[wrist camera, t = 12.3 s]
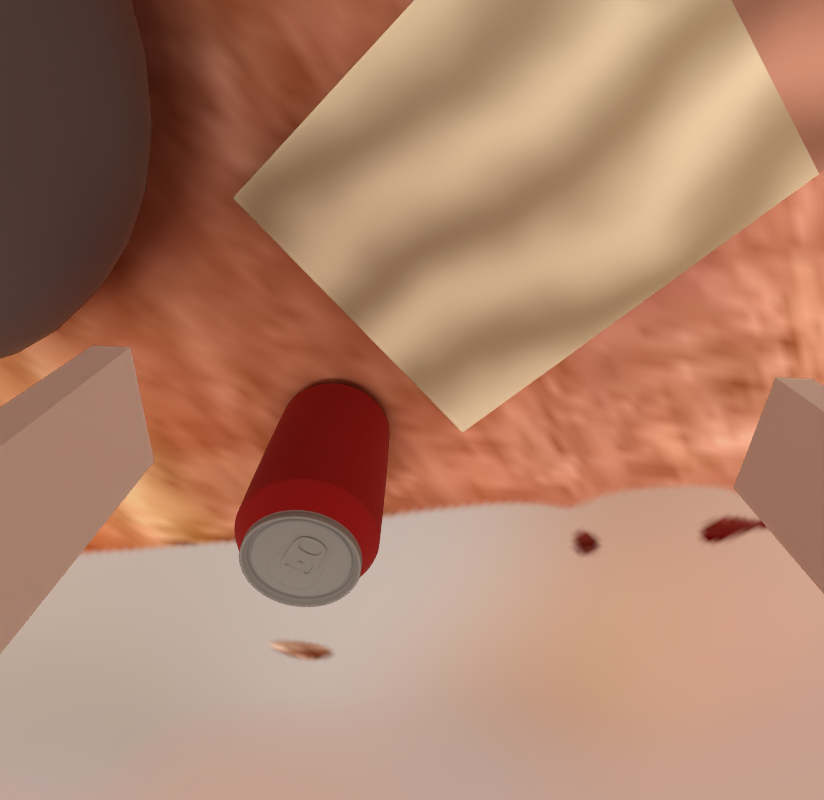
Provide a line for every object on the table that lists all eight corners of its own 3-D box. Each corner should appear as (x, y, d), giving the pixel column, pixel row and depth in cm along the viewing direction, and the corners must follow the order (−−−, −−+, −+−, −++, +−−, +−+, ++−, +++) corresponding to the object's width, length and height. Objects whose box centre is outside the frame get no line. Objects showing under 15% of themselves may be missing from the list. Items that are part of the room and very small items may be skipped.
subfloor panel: (239, 195, 28) (232, 197, 27) (872, -493, 18) (901, -532, 17) (461, 422, 34) (462, 432, 33) (1025, 9, 24) (1053, 4, 23)
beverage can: (266, 440, 35) (199, 582, 24) (312, 357, 32) (259, 477, 21) (359, 484, 36) (334, 636, 26) (410, 409, 34) (406, 544, 23)
